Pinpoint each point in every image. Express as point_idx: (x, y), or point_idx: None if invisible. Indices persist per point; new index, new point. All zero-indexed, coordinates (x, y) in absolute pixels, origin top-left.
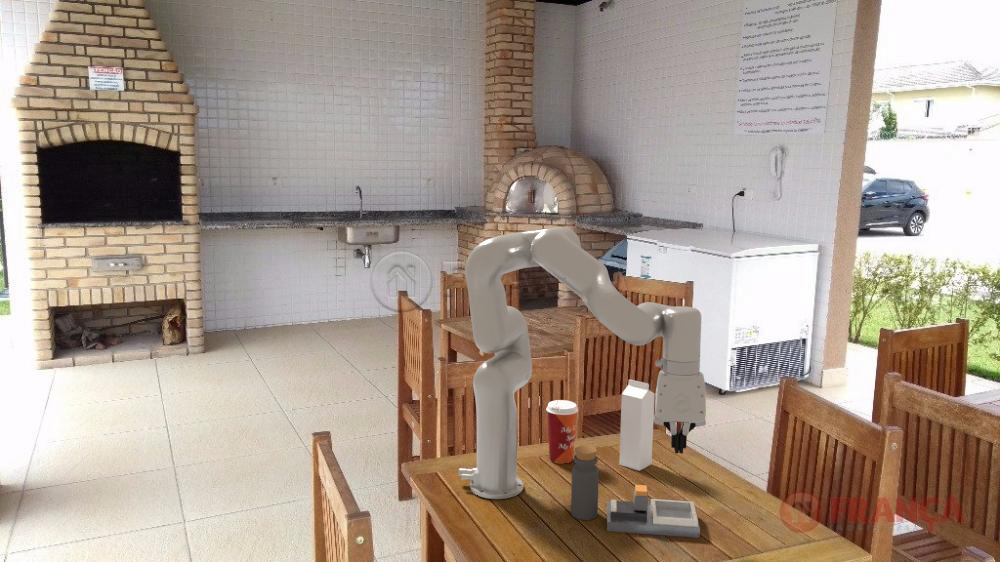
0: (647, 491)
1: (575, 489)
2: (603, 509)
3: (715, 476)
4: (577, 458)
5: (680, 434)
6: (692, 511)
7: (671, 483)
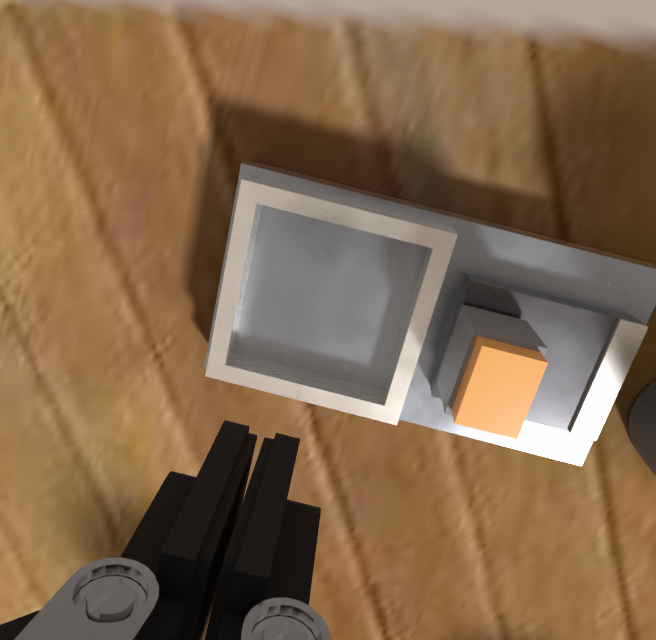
0: (452, 391)
1: None
2: None
3: None
4: None
5: (187, 612)
6: (238, 280)
7: None
